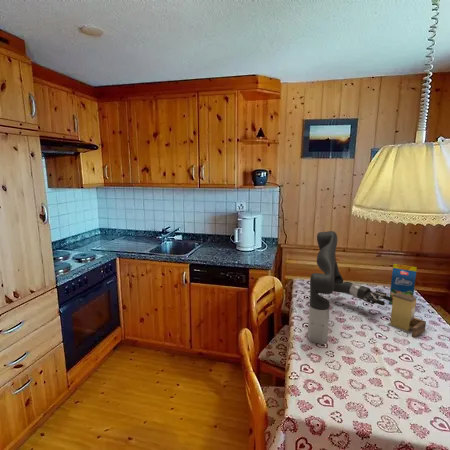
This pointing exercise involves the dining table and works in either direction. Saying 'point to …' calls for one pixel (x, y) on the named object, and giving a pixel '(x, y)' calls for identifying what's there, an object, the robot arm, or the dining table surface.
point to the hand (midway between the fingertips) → (388, 301)
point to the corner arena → (418, 327)
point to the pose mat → (400, 329)
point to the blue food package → (403, 280)
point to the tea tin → (403, 311)
